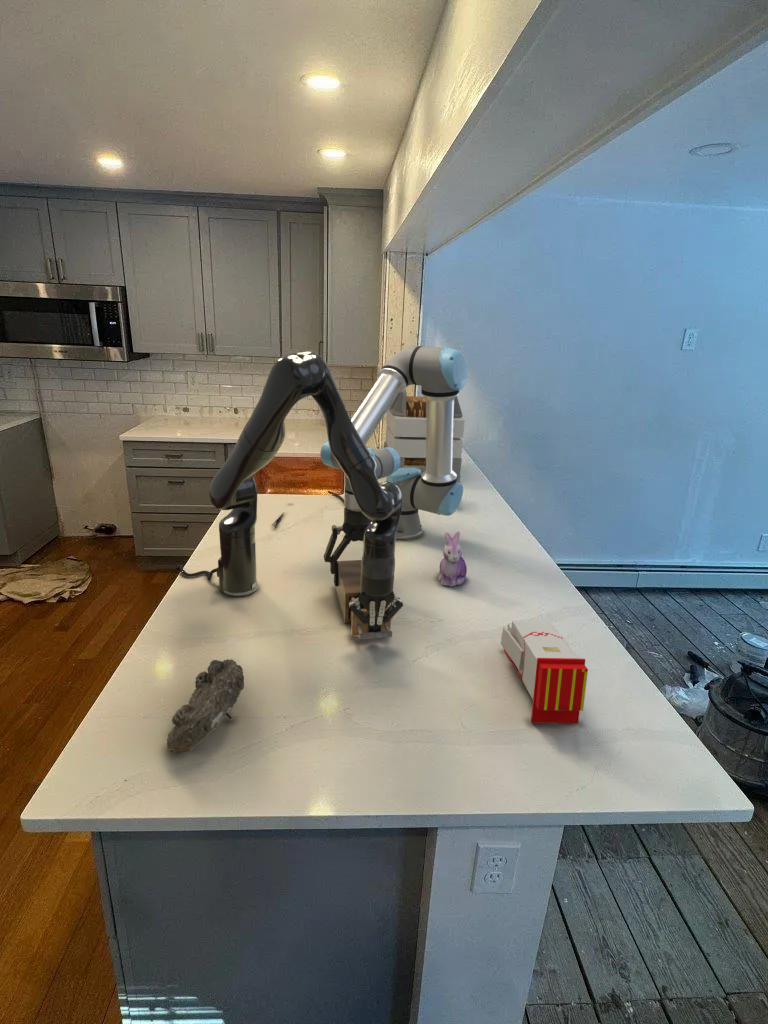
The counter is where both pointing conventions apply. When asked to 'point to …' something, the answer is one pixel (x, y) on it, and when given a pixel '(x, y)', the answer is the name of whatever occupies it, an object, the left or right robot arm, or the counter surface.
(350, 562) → the cabinet
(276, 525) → the feather
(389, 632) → the drawer
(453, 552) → the figurine
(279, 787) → the counter surface
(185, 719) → the fossil
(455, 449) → the white slatted crate
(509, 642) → the toy
